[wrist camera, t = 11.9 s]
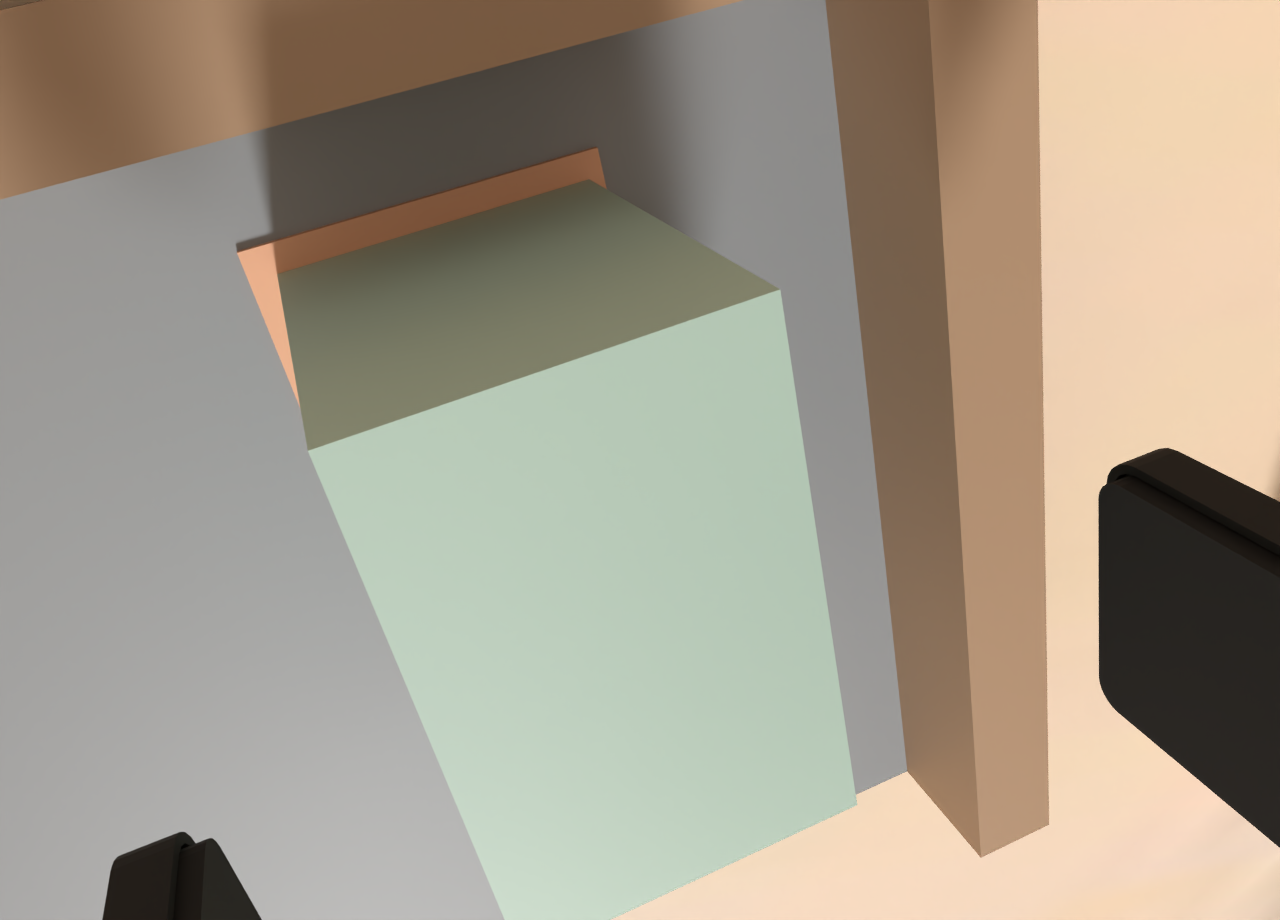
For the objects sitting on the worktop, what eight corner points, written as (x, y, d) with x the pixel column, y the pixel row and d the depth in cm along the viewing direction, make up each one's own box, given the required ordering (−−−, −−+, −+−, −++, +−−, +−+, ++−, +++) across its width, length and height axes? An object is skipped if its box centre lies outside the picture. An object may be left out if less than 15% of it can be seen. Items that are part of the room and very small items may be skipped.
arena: (953, 725, 24) (1048, 824, 21) (143, 1092, 20) (130, 1271, 17) (885, -194, 15) (1035, -229, 12) (-584, 148, 11) (-847, 206, 8)
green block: (588, 179, 15) (779, 289, 10) (679, 571, 18) (856, 805, 13) (276, 273, 14) (307, 450, 9) (433, 668, 17) (522, 961, 12)
